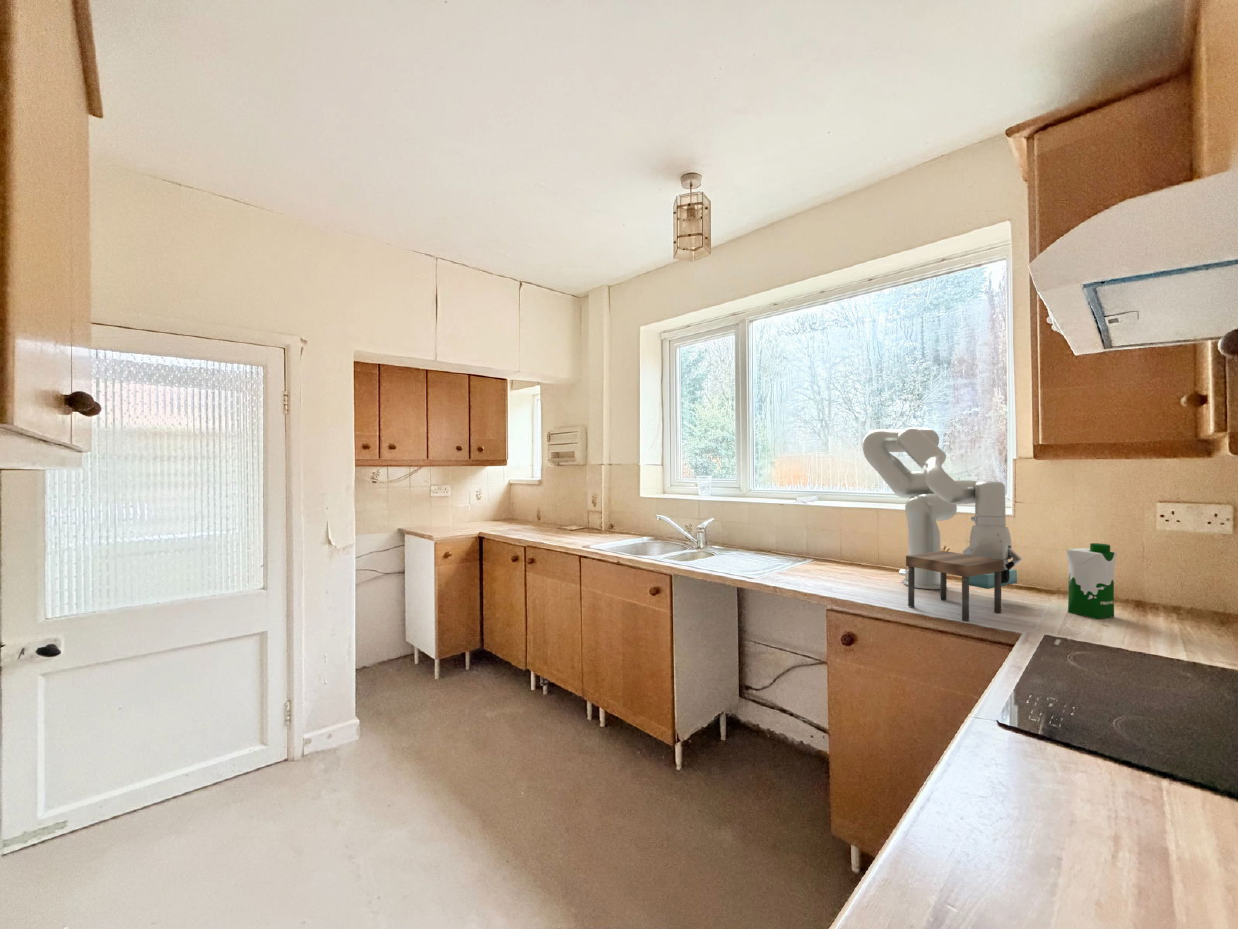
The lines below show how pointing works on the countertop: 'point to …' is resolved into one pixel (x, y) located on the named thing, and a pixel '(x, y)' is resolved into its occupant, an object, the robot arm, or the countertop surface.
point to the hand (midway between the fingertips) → (991, 579)
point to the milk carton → (1091, 581)
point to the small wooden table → (956, 573)
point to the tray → (991, 580)
